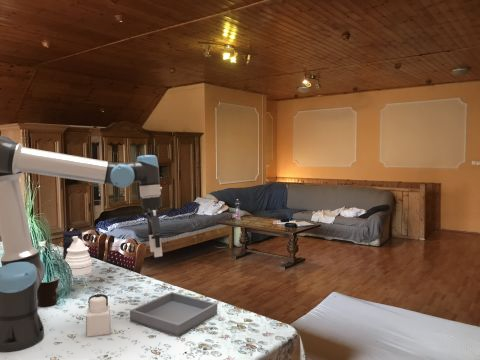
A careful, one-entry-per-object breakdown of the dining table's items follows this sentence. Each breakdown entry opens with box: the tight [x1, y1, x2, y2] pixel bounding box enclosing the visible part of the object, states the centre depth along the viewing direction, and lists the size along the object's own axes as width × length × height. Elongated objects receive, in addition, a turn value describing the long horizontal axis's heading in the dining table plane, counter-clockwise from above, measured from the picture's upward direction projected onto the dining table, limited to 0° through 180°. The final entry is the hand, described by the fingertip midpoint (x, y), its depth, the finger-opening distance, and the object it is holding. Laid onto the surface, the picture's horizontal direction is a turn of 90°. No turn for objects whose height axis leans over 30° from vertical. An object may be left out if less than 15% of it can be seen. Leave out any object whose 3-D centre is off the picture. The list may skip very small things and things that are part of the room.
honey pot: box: [65, 236, 93, 277], centre depth 194 cm, size 13×13×18 cm
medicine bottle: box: [85, 293, 111, 338], centre depth 131 cm, size 7×7×12 cm
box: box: [129, 291, 218, 338], centre depth 143 cm, size 22×22×4 cm
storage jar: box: [62, 230, 83, 259], centre depth 217 cm, size 10×10×15 cm
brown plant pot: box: [37, 275, 60, 308], centre depth 155 cm, size 12×9×10 cm
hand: (156, 254), depth 147 cm, fingers open, 13 cm apart
